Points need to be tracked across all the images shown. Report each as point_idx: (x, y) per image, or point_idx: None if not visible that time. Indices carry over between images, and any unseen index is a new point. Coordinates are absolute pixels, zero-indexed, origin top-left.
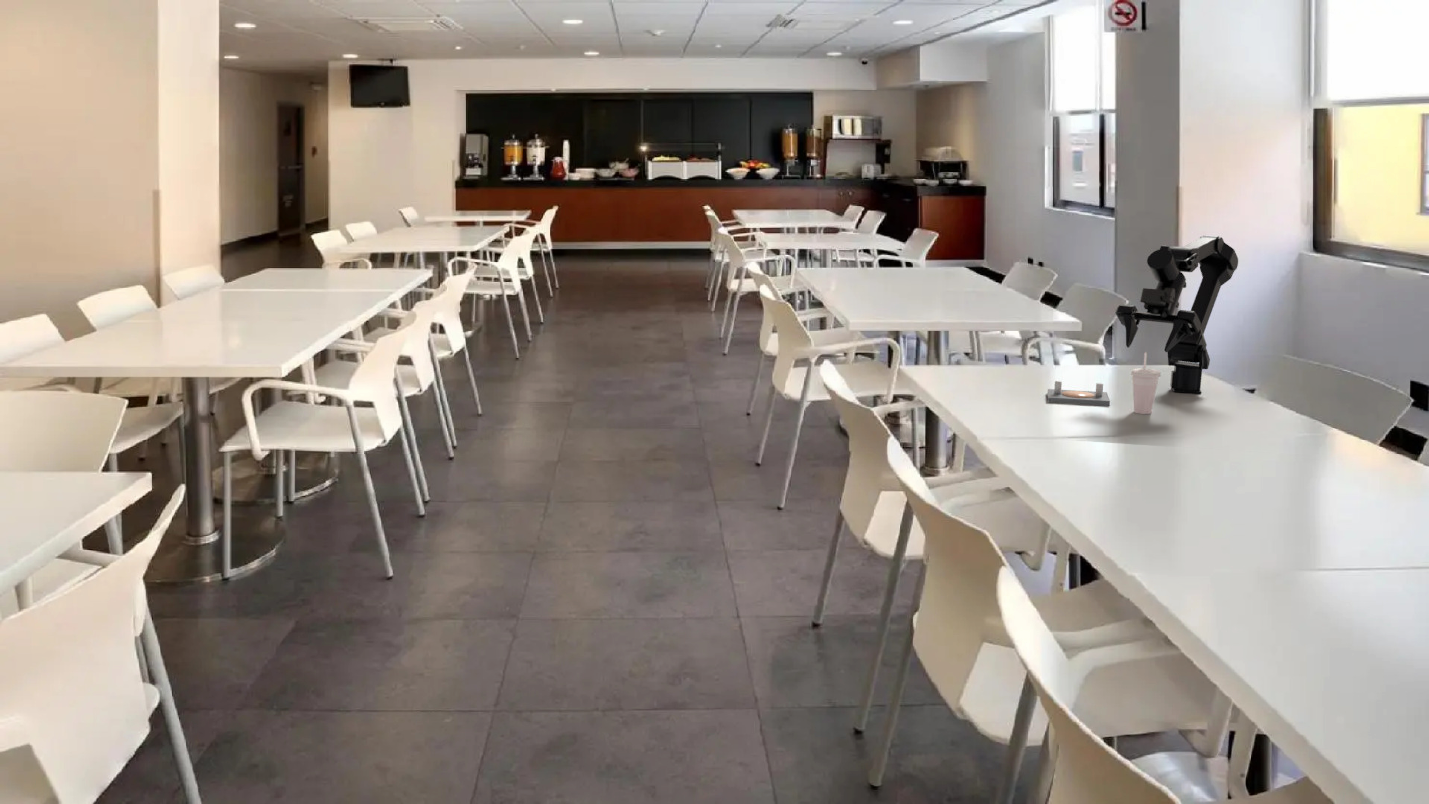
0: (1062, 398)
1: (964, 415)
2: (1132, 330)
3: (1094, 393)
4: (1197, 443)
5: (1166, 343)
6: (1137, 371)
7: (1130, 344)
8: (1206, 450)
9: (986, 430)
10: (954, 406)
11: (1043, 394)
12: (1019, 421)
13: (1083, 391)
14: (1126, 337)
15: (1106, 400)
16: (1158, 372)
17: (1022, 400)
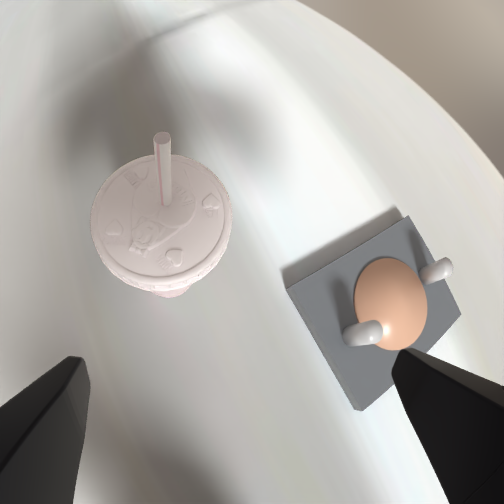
0: (387, 228)
1: (384, 63)
2: (488, 450)
3: (377, 361)
4: (19, 81)
5: (60, 389)
6: (192, 181)
7: (403, 397)
8: (13, 61)
9: (305, 13)
10: (433, 106)
11: None
12: (316, 54)
13: None
14: (458, 368)
15: (302, 286)
16: (98, 223)
17: (434, 207)
